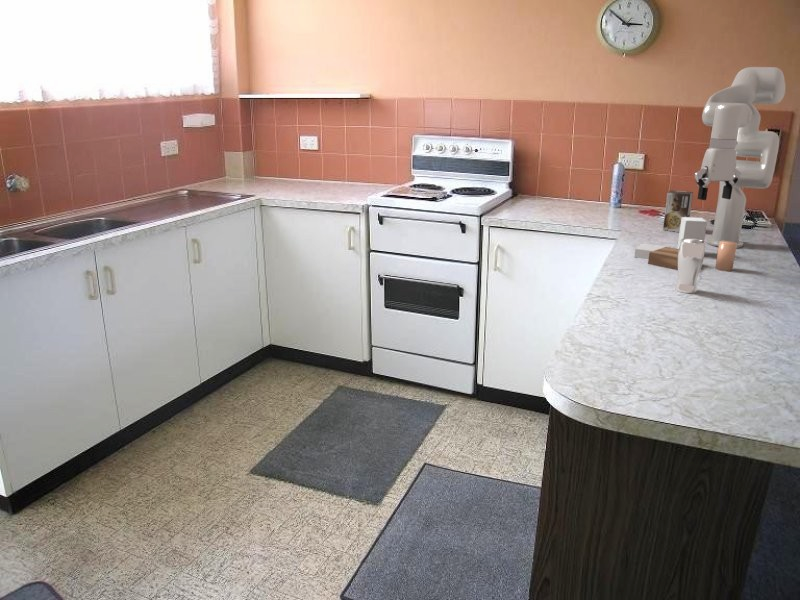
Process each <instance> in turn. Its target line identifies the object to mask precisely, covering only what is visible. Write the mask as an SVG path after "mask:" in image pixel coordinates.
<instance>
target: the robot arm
mask: <svg viewBox="0 0 800 600" xmlns="http://www.w3.org/2000/svg"><path fill="white" fill-rule="evenodd" d="M785 94H786V81H785V76H784V72H783V71H782V70H781V69H780V68H779V67H776V66H750V67H745V68H743V69H741V70H739V72H738V73H736V75H735V77H734V80H733V81H732V83H731V85H730V86H729V87H726V88H723V89H721V90H719V91H716V92H715V93H712V95H710V97H709V98H708V100H707V101H706V103H705V105H704V107H703V110H702V115H701V119H702V123H703V124H704V125H705V126H706V127H707V126H708V127H712V128H711V133H710V134H711V135H710V140H709V145H708V148H707V149H706V151H705V153H704V156H703V159H702V163H701V167H700V169H699V170H698V171H697V172H695V173H694V179H695V182H696V184H697V187H699V188H698V192H697V193H698V194H697V200H700V201H706V200H707V199H708V198H707V197H708V193H709V192H708V190H709V188H708V185H709V184H710V183H711V182H713V183H714V182H715V183H716V182H719V186H718V187H719V188H718V196H717V204H716V209H715V210H716V211H715V217H714V223H713V229H712V235H711V237H709V238H708V239H706V243H707V244H708V245H710V246H714V247H718V248H719V242H720V241H732V242H736V243H737V247H736V249H737V248H742V247H743V246H744V242H743V241H741V240H740V239H741V236H742V232H741V231H742V226H743V222H744V221H743V220H744V217H745V216H744V215H745V210H746V206H747V205H746V204H747V197H746V195H745V193H744V191H743V190H742V188H748V189H763V190H764V189H767V188H769V187H770V185H771V184H772V181H773V178H774V177H773V176H774V173H775V168H776V163H777V158H778V157H777V156H778V152H779V147H780V138H779V135H778V133H776V132H774V131H771V130H769V131H768V130H760V129H759V128H760V124H761V119H762V117H761V113H760V112H759V110H758V108H756V106H755V105H756V104H757V105H777V104H779V103H781V101H782V100H783V99H784V96H785ZM754 104H755V105H754ZM737 157H739V158H740V157H742V158H755V159H756V158H757V159H760V160H761V161H757V160H756V161H755V160H743V159H742V160H741V159H737Z"/></svg>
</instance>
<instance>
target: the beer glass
mask: <svg viewBox="0 0 800 600" xmlns="http://www.w3.org/2000/svg"><path fill="white" fill-rule="evenodd" d="M705 250H706V241H705V240H704V241H703V240H699V239H690V238H686V239H681V243H680V247H679V252H678V270H677V281H676V284H675V286H674V290H675V291H677V292H679V293H682V292H683V294H695V292H696V293H697V291H698V286H697V285H698V283H697V282H698V277H699V274H700V272H701V268H702V267H703V262H704V258H705Z"/></svg>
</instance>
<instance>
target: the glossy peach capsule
mask: <svg viewBox="0 0 800 600" xmlns="http://www.w3.org/2000/svg"><path fill="white" fill-rule="evenodd" d="M736 247H737V243H736V242H732V241H720V242H719V247H718V248H717V249H718V250H717V254H716V262H715V267H714V268H715V270H718V271H722V272H733V268H734V262H735V258H736V251H737V248H736Z"/></svg>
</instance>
